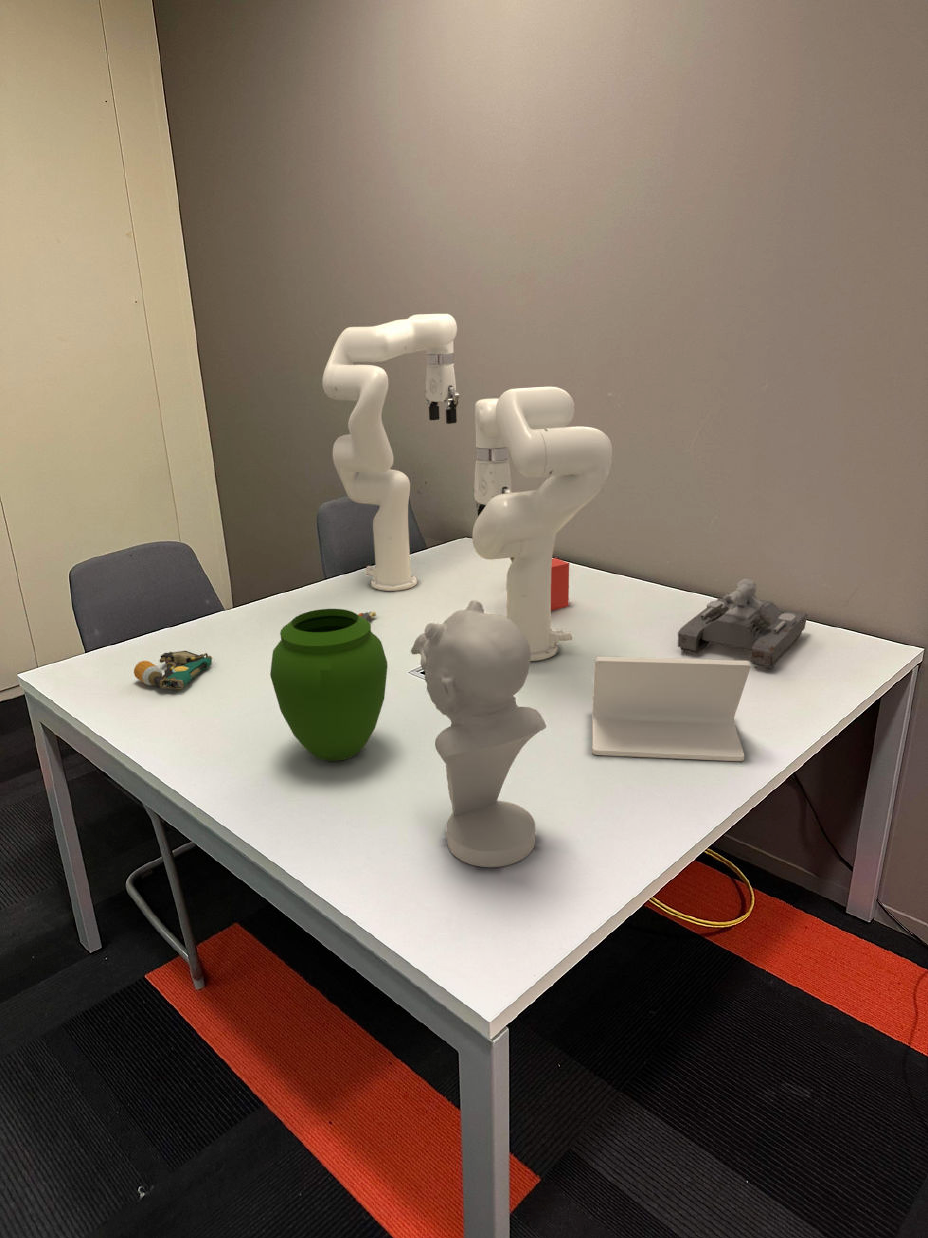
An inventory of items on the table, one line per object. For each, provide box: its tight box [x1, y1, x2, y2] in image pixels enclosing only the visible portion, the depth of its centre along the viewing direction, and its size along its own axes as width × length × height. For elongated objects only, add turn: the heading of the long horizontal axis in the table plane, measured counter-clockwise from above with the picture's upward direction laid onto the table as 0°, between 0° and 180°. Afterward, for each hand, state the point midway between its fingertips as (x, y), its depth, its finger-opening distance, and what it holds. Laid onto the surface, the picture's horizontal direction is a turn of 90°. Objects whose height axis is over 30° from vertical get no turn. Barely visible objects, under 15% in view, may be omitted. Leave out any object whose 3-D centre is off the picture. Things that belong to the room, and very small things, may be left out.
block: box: [551, 557, 570, 612], centre depth 213 cm, size 6×9×11 cm, turn 122°
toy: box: [677, 578, 808, 669], centre depth 186 cm, size 25×20×15 cm
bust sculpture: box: [410, 599, 547, 868], centre depth 121 cm, size 16×24×35 cm
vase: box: [269, 608, 388, 762], centre depth 144 cm, size 20×20×24 cm
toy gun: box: [357, 611, 377, 622], centre depth 203 cm, size 3×19×10 cm
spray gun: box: [133, 650, 213, 690], centre depth 180 cm, size 4×17×15 cm
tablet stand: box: [591, 656, 752, 762], centre depth 148 cm, size 18×25×17 cm
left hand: (442, 421), depth 248 cm, fingers open, 9 cm apart
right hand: (494, 528), depth 200 cm, fingers open, 9 cm apart
